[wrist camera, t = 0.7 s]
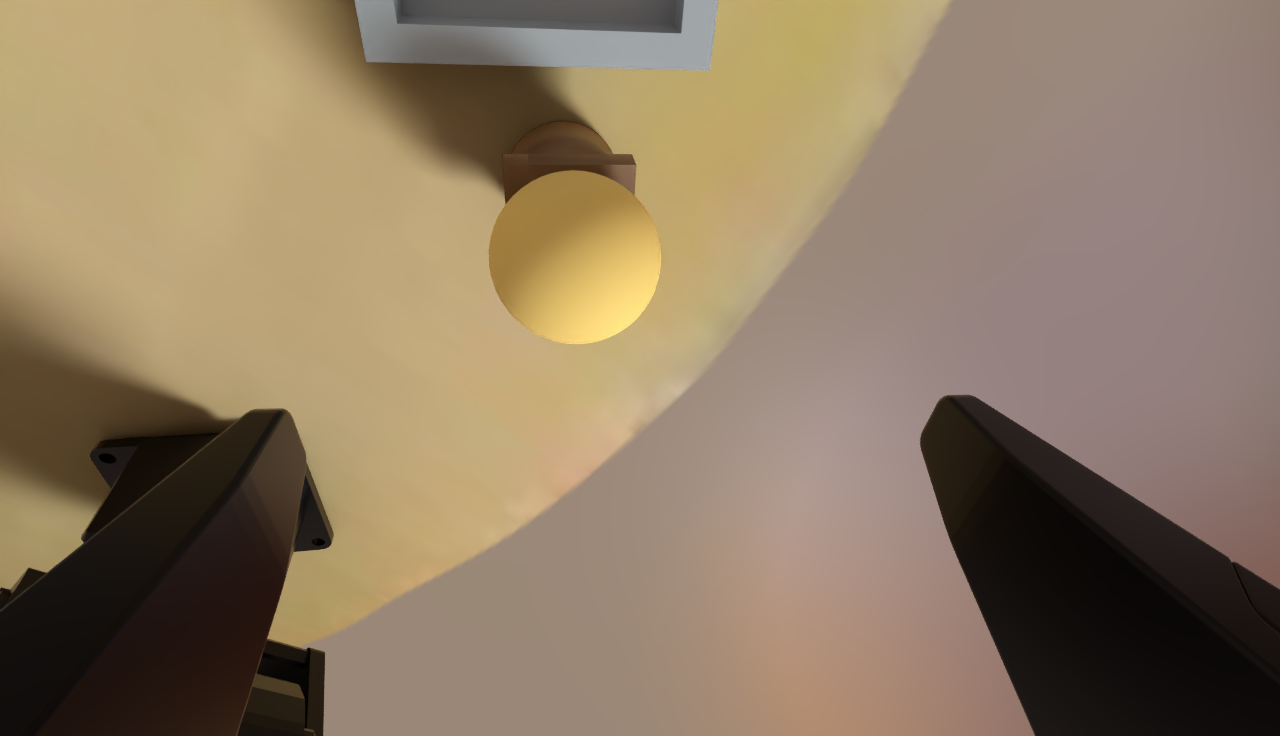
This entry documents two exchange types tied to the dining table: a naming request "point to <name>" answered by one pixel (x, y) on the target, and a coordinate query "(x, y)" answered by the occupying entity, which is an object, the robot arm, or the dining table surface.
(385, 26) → the tray
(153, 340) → the dining table surface
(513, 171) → the egg cup
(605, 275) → the ball
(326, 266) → the dining table surface
